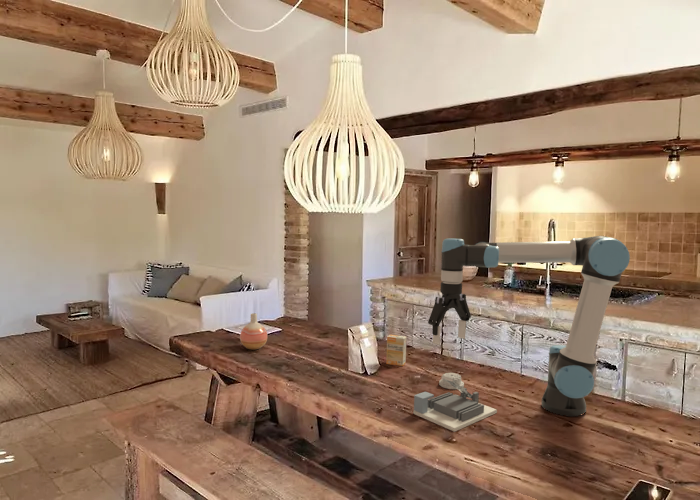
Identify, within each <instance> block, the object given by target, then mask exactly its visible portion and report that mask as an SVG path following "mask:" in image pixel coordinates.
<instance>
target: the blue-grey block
mask: <svg viewBox="0 0 700 500" xmlns="http://www.w3.org/2000/svg"><path fill="white" fill-rule="evenodd" d="M413 397H414V398H413V411H414V410H415V411H417V412H420V413H422V414H423V413H426V412H427V411H428V400H429V399H431V398H434V397H435V394H433V393H431V392H428V391H423V392H420V393H417V394H414V396H413Z"/></svg>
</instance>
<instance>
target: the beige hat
mask: <svg viewBox="0 0 700 500" xmlns="http://www.w3.org/2000/svg"><path fill="white" fill-rule="evenodd" d="M442 376H444V377H447V378H450V379H453V380H454V381H456V382H457V384H458V385H460V386H461V387H462V388H465V387H464V386H465V382H464V381H462V375H460V374H459V373H455V372H445V373H442ZM438 384H439V386H440V387H441V388H444V389H447V390H448V389H449V390H457V389H456V388H455V387H454V386H452V385H451V384H450V383H448V382H447V381H445V380H443V379H442V378H441V379H439V382H438Z"/></svg>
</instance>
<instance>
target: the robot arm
mask: <svg viewBox="0 0 700 500" xmlns="http://www.w3.org/2000/svg"><path fill="white" fill-rule="evenodd" d="M441 245H442V246H441V259H440V260H441V262H440V263H441V265H440V266H441V267H440V268H441V269H440V270H441V271H440V281H441V282H440V293H441V297H439V296H435V299H434V305H433V307H432V310H431V313H430V316H429V317H428V318H429V319H428V322H427V324H428V325H431V326H432V333H431V334H432V344H434V345H438V346H440V345H441V329H442V328H441V327H442V326H441V325H440V324H441V323H442V321H443V319H444V317H445V316H446V315H447V314H446V313H447V312H448V311H449V310H452V309H454V310H455V312H456V314H457V315H458V318H459V319H458V331H457V333H458V334H457V338H459V339H464V340H466V329H467V322H469V321H470V319H471V318H472V315H471V311H470V308H469V305H468V302H467V295H466V294H465V293H463V284H462V282H463V277H464V275H463V274H464V267H478V268H486V269H488V268H497V267H498V266H499V264H500V263H503V264H505V263H506V264H510V263H512V264H514V263H517V264H518V263H520V264H521V263H533V264H534V263H537V264H540V263H545V264H547V263H557V264H558V263H564V264H565V263H568V264H569V263H570V264H571V265H572V266H582V267H581V272H580V275H581V276H582V277H583V284H582V286H581V287H582V288H581V290H580V294H579V298H578V301H577V305H576V309H575V313H574V315H573V320H572V323H571V327H570V330H569V333H568V338H567V341H566V345H559V344H558V345H557V344H556V345H551V346H550V347H549V352H548V367H547V369H548V372H547V385H546V388H545V389H544V393H543V395H542V396H541V404H542V405H541V406H542V409H544V408H545V409H546V410H545V409H544V410H545V411H547V410H548V411H547V412H549V411H550V412H549V413H552V412H553V413H552V414H555V413H556V414H555V415H558V414H560V415H559V416H563V415H566V416H565V417H579V416H578V415H581V414H583V413H585V412H586V413H587V404H586V400H585V397H587V396H589V395H590V393H591V392H592V391H593V389H594V387H595V377H594V372H595V369H596V365H597V359H596V358H595V356H594V353H595V350H596V346H597V343H598V339H599V335H600V332H601V328H602V325H603V322H604V321H603V320H604V317H605V314H606V311H607V308H608V305H609V304H608V303H609V300H610V298H611V297H610V296H611V293H612V289H613V287H614V286H615V285H617V284H619V283H620V282H621V277H622V274H623V272H624V271H625V270H626V269H627V268H628V266H629V263H630V259H631V256H630V250H628V247H627V246H626V244H624V243H623V242H622V241H621V240H619V239H617V238H615V237H611V236H610V237H609V236H605V235H595V236H589V237H576V238H571V239H570V240H567V241H566V240H564V241H557V240H556V241H514V242H513V241H510V242H509V241H505V242H501V241H500V242H486V241H479V242H478V243H475V244H465V240H464V239H462V238H453V237H452V238H451V237H449V238H445V239H443V240H442V244H441ZM586 413H585V414H586ZM581 416H582V415H581Z"/></svg>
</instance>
